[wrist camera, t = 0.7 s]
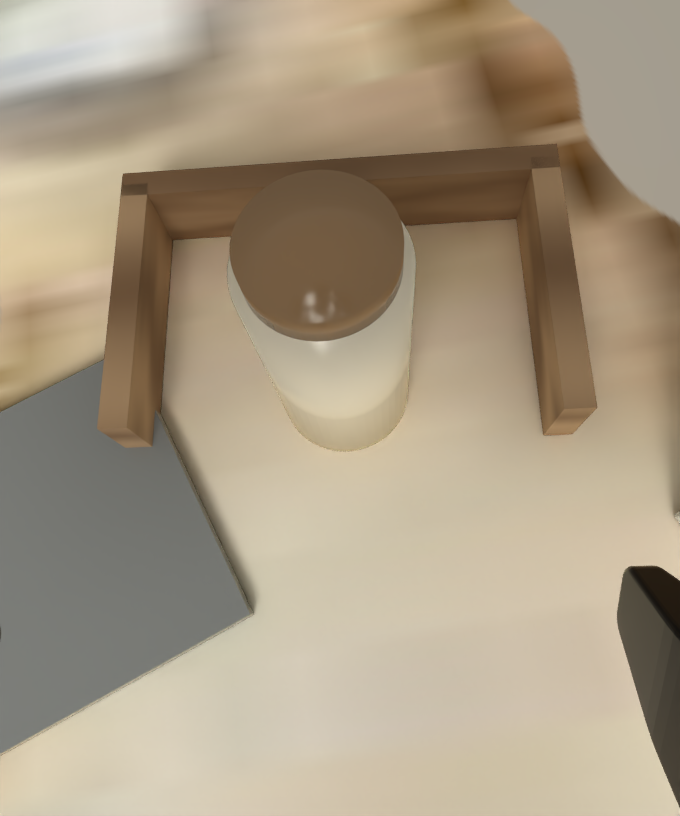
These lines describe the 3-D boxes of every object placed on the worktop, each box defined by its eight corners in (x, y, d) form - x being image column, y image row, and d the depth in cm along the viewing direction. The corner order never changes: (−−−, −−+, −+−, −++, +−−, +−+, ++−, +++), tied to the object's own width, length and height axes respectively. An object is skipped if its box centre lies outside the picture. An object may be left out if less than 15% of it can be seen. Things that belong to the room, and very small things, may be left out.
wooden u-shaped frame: (572, 434, 23) (597, 407, 20) (131, 452, 24) (96, 429, 21) (539, 195, 26) (556, 144, 23) (150, 220, 27) (122, 173, 25)
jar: (431, 413, 24) (456, 273, 14) (319, 474, 23) (270, 371, 14) (369, 315, 25) (356, 129, 16) (264, 370, 25) (185, 213, 15)
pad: (254, 614, 22) (250, 614, 21) (-50, 783, 21) (-62, 788, 21) (132, 354, 25) (126, 347, 25) (-134, 489, 25) (-146, 486, 24)
